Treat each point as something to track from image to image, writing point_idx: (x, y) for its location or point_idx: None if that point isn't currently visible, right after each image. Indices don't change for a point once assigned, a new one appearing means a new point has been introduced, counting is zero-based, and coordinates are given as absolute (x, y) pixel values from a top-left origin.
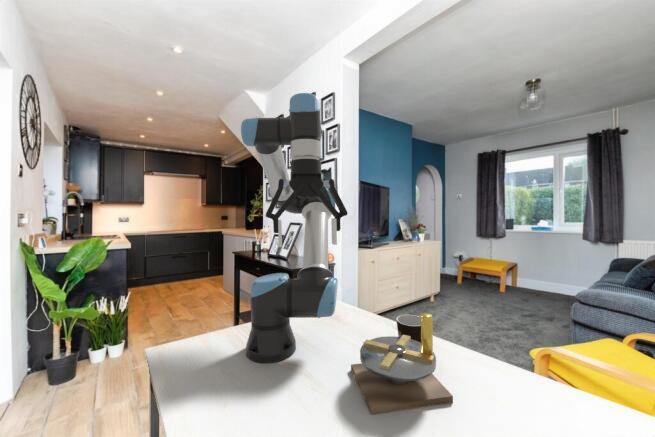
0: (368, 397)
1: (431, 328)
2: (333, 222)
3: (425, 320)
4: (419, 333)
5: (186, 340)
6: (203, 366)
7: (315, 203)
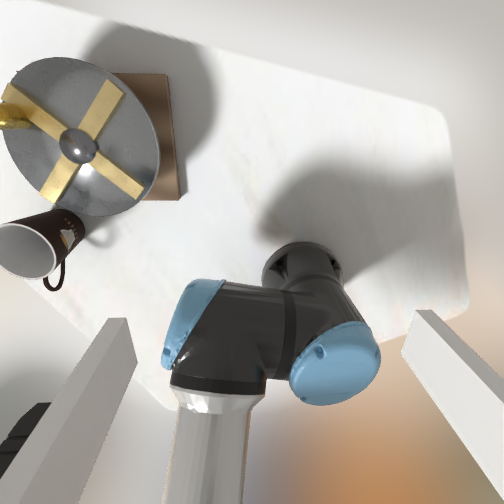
0: (164, 102)
1: None
2: (39, 469)
3: None
4: (20, 219)
5: None
6: (400, 251)
7: None
